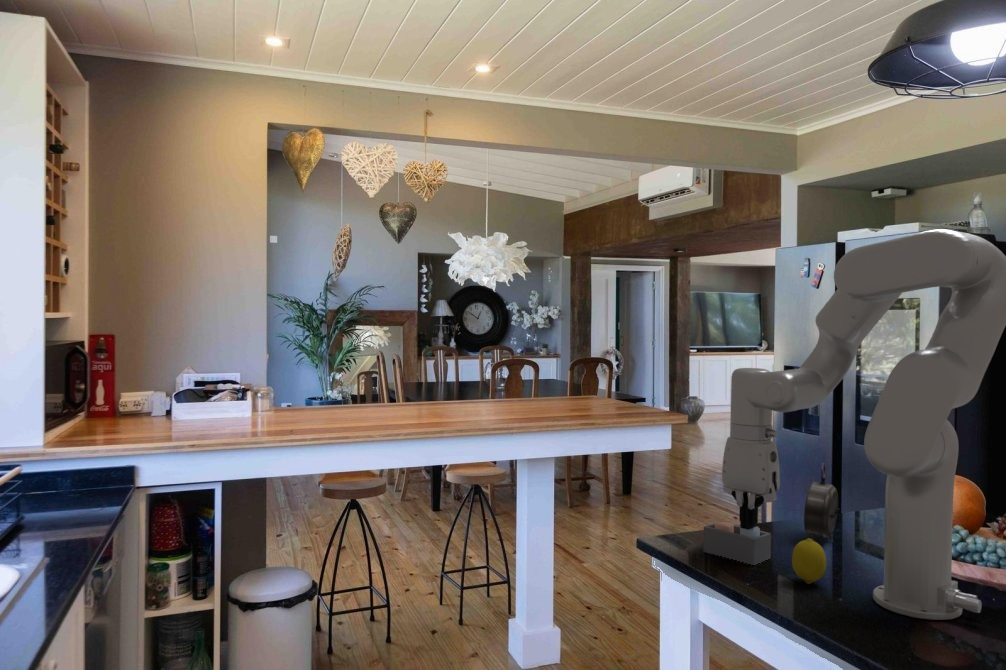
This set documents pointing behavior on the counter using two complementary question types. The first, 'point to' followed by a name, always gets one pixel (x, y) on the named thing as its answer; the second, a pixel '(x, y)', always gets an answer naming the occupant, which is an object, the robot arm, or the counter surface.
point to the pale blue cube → (750, 532)
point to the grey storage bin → (737, 545)
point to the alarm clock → (821, 509)
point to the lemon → (809, 560)
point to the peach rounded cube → (725, 526)
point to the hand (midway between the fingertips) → (748, 527)
